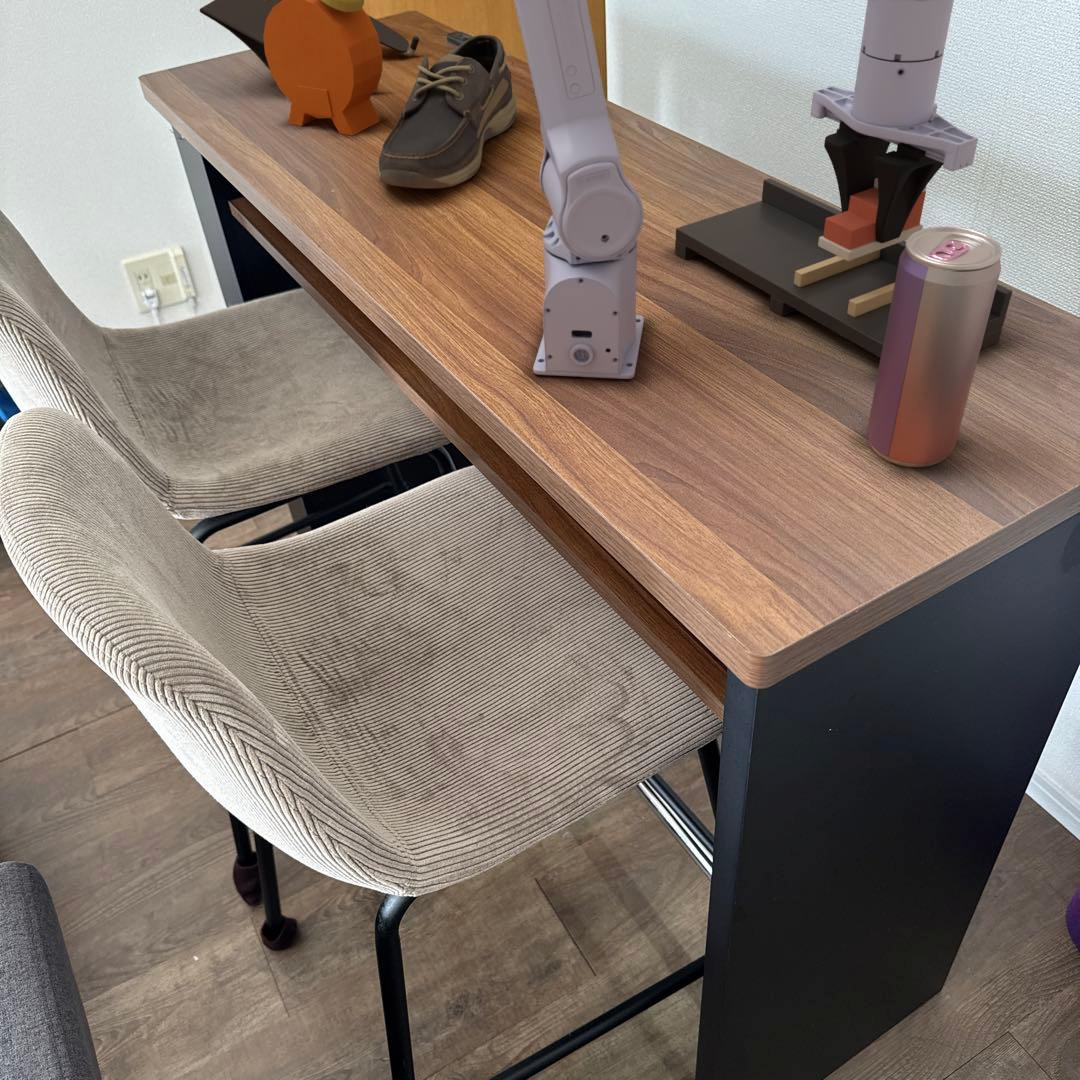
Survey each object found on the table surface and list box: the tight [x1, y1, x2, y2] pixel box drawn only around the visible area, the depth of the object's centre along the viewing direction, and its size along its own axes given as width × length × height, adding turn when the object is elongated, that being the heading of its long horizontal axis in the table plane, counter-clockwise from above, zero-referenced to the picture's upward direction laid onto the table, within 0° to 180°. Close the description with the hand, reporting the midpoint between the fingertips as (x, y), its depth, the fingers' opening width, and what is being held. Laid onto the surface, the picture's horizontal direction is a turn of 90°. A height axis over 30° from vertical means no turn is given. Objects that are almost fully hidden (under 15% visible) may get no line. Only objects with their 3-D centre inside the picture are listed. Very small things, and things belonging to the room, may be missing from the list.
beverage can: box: [866, 225, 1003, 468], centre depth 70 cm, size 6×6×15 cm
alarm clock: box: [263, 0, 383, 136], centre depth 123 cm, size 13×6×20 cm, turn 59°
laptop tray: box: [199, 0, 420, 93], centre depth 143 cm, size 23×23×9 cm
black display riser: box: [674, 178, 1013, 359], centre depth 90 cm, size 28×11×4 cm, turn 32°
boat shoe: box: [377, 34, 518, 189], centre depth 117 cm, size 11×29×11 cm, turn 166°
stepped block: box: [818, 178, 927, 261], centre depth 83 cm, size 8×3×4 cm, turn 122°
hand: (871, 231), depth 84 cm, fingers closed on stepped block, 3 cm apart
